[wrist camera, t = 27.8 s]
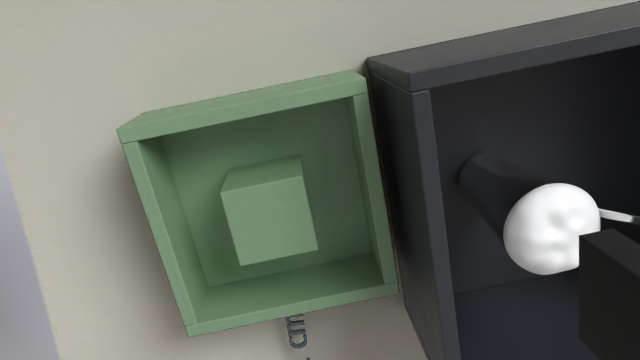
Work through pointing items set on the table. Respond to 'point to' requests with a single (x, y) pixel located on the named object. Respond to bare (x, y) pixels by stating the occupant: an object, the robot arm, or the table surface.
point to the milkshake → (533, 212)
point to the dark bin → (514, 145)
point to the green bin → (253, 147)
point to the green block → (269, 210)
